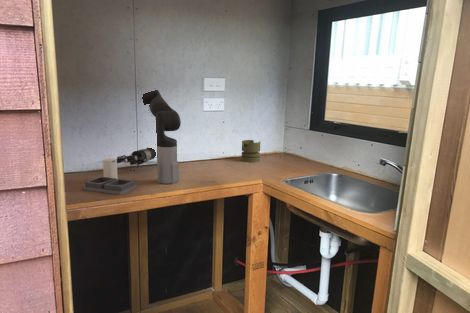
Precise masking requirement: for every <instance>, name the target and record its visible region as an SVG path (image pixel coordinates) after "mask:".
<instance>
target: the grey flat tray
mask: <svg viewBox="0 0 470 313" xmlns="http://www.w3.org/2000/svg"><path fill="white" fill-rule="evenodd" d="M136 182H137V181H136V180H133V179H132V180H131V179H124V178H118V179H116V178H109V177H104V176H98V177H96V178H92V179H90V180H88V181H84V186H82V190H83V191H91V192H98V193H103V194H104V193H105V194H113V195H123V194H125V193H127V192H129V191H131V190H134V189H136V188H137V186H138V185H137V183H136Z"/></svg>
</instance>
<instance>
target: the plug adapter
mask: <svg viewBox="0 0 470 313" xmlns="http://www.w3.org/2000/svg"><path fill="white" fill-rule="evenodd" d="M102 168H103V170H102V171H103V177H109V178H116V179H119V177H118V164H117V158H111V157H109V158H105V159H103V160H102Z"/></svg>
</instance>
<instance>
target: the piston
mask: <svg viewBox="0 0 470 313" xmlns="http://www.w3.org/2000/svg"><path fill="white" fill-rule="evenodd" d="M254 140H255V139H245V140H242V141H241V162H243V163H249V164H250V163H254V164H255V163H259V162H261V140H260V141H258V142H254Z"/></svg>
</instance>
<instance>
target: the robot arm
mask: <svg viewBox="0 0 470 313" xmlns="http://www.w3.org/2000/svg"><path fill="white" fill-rule="evenodd" d="M142 99H143V103H144V105H146V104H150V105H149V106H148V109H149V112H150V114H151V115H152V116H153V117H155V120H156V133H157V157H155V156H156V152H155V150H154V149H152V148H148V147H146V148H142V149H137V150H134V151H133V152H131V154H129V155H126V154H123V155H120V156H117V157H116V159H117V165H118V164H120V163H124V164H127V163H129V165H130V166H133V165H136V166H140V165H143V164H144V163H147V162H149V161H151V160H154V159H155V158H156V161H157V162H156V167H157V168H156V169H157V170H156V172H157V183H158V184H164V185H165V184H167V185H168V184H173V185H174V184H175V183H177V182H178V181H180V163H179V161H178V142H177V139H176V138H174V137H169V136H167V135H166V134H165V132H176V131H178V130H179V129H180V128H181V123H182V122H181V120H182V119H181V117H180V114H179V113H178V112H177V111H176V110H174V108H172V107H171V106H170V105H169V104H168V102H167V101H166V100H165V99H164V98H163V97H162V95H161V92H160V91H159V90H158V89H157V90H155V91H151V92H148V93H145V94H143V97H142Z"/></svg>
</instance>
